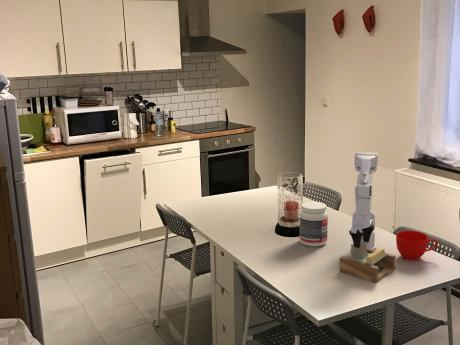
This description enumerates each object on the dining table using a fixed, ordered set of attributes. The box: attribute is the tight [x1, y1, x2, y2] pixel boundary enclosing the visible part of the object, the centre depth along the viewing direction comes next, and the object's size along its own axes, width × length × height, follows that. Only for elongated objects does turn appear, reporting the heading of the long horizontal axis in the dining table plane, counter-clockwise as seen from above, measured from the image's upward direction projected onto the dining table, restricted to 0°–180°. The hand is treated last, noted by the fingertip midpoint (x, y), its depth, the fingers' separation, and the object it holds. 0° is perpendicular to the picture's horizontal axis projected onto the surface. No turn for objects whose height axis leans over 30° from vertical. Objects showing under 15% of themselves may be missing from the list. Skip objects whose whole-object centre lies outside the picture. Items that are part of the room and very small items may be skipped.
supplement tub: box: [299, 201, 329, 247], centre depth 239 cm, size 13×13×18 cm
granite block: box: [350, 242, 368, 259], centre depth 211 cm, size 4×4×6 cm
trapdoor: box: [352, 248, 387, 265], centre depth 209 cm, size 12×11×3 cm
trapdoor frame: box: [339, 247, 396, 284], centre depth 210 cm, size 17×16×6 cm
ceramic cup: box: [395, 230, 439, 262], centre depth 220 cm, size 13×17×10 cm
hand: (361, 244), depth 210 cm, fingers open, 7 cm apart
